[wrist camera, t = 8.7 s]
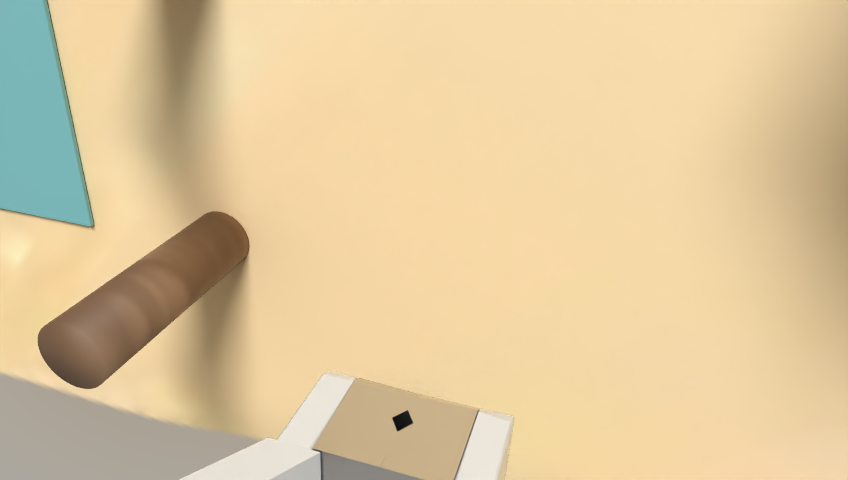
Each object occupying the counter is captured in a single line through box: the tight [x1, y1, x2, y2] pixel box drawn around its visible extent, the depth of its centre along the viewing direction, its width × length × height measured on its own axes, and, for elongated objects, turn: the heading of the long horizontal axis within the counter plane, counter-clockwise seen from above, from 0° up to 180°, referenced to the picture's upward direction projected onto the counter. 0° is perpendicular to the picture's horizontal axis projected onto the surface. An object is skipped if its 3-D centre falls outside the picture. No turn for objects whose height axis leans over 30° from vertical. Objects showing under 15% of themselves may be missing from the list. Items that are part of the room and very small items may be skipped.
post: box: [38, 212, 249, 389], centre depth 25 cm, size 3×3×9 cm
